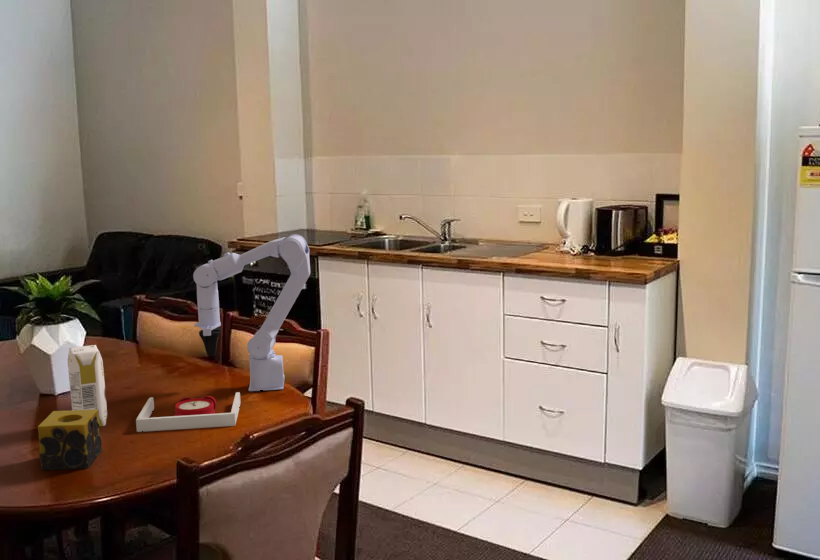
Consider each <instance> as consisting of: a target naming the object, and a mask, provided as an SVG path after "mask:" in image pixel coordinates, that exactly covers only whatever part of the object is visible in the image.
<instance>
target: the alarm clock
mask: <svg viewBox="0 0 820 560" xmlns="http://www.w3.org/2000/svg"><path fill="white" fill-rule="evenodd" d="M216 408H217V400H216V399H215V398H214V396H210V395H207V396H206V395H205V396H203V397H202V398H201V397H200V398H191V397H183V398H180V399H179V400H178V402H177V403H176V404H175V406H174V411H175V414H174V416H185V415H202V414H217V413H216V411H215V410H216Z"/></svg>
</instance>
